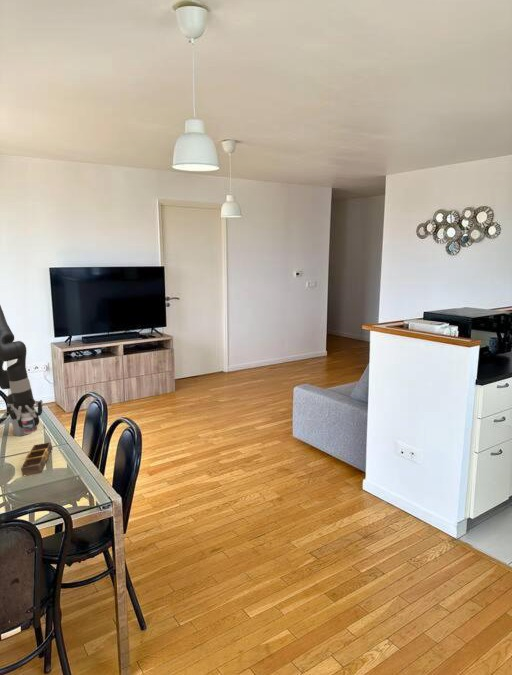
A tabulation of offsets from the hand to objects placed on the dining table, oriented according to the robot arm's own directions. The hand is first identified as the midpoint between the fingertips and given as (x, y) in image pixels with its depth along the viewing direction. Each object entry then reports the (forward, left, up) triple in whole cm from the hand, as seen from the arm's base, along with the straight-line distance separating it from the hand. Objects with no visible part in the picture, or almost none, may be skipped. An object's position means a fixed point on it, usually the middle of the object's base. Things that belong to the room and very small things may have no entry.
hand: (29, 425), depth 198 cm
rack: (0, 0, -17) cm, 17 cm away
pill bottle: (0, 0, -3) cm, 3 cm away
